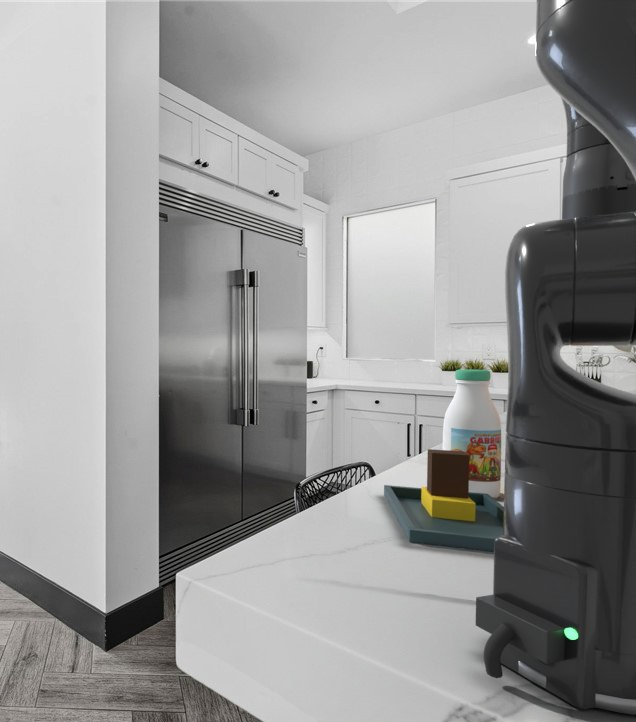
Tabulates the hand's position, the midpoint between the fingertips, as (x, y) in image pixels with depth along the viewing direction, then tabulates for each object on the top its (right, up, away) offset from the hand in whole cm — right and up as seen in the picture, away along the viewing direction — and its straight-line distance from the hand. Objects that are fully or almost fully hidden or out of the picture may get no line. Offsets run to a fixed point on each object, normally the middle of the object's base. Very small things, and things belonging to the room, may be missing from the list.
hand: (600, 328), depth 63 cm
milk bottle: (+1, -25, +23) cm, 34 cm away
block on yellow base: (-11, -25, +12) cm, 30 cm away
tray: (-12, -26, +8) cm, 30 cm away
